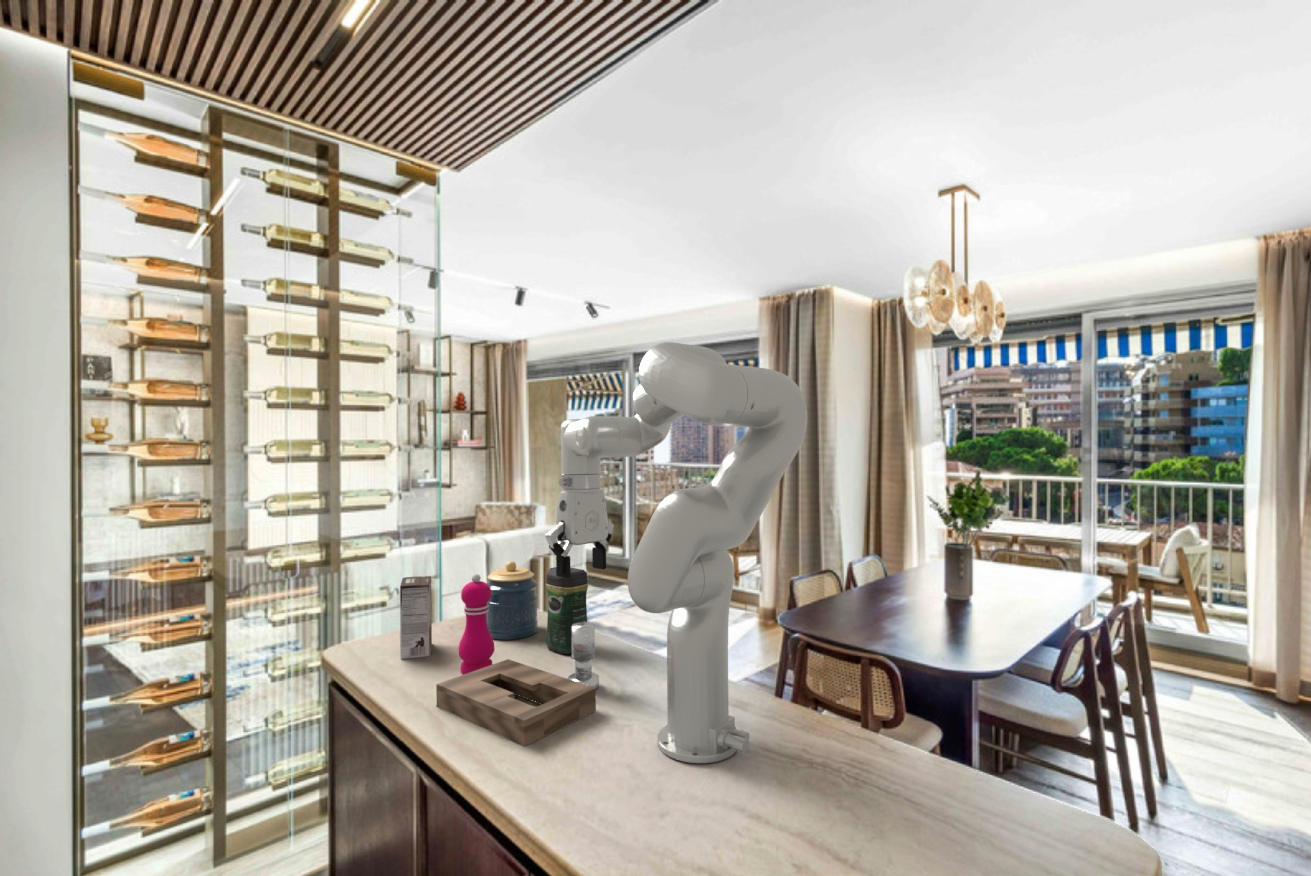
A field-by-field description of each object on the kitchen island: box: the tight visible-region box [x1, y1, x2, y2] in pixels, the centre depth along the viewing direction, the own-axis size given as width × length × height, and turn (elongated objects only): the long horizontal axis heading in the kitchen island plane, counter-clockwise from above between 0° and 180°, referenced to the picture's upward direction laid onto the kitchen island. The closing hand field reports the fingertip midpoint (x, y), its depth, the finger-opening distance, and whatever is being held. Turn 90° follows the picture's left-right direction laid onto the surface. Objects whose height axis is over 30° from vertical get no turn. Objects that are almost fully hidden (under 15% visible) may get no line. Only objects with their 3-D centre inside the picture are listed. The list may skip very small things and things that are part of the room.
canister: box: [486, 560, 539, 641], centre depth 155 cm, size 13×13×18 cm
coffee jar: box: [545, 566, 589, 655], centre depth 143 cm, size 10×8×19 cm
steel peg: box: [567, 621, 600, 692], centre depth 120 cm, size 6×6×12 cm
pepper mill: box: [457, 573, 495, 675], centre depth 130 cm, size 7×7×20 cm
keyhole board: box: [435, 658, 597, 747], centre depth 111 cm, size 24×16×4 cm, turn 52°
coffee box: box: [399, 575, 433, 660], centre depth 142 cm, size 9×6×16 cm
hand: (581, 572), depth 120 cm, fingers open, 9 cm apart
